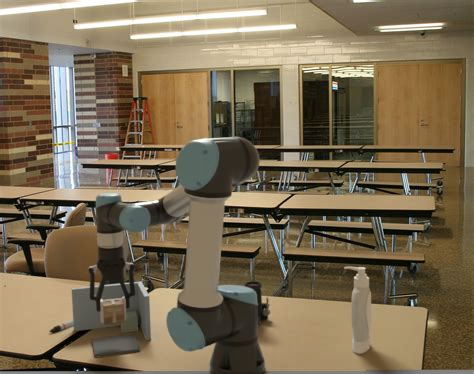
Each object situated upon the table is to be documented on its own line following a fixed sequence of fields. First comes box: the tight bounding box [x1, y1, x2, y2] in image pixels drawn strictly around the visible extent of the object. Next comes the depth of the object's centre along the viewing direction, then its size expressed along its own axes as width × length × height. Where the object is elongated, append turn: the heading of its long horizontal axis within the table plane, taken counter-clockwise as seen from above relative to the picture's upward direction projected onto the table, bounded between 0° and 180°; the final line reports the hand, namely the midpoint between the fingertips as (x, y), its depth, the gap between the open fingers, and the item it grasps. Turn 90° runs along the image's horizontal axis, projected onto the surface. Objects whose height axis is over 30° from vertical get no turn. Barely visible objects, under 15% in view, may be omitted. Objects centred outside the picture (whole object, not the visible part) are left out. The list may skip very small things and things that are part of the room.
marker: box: [48, 318, 74, 333], centre depth 209 cm, size 15×2×2 cm, turn 148°
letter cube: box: [103, 298, 125, 325], centre depth 189 cm, size 6×6×6 cm
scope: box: [244, 280, 271, 327], centre depth 208 cm, size 8×14×10 cm
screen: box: [71, 281, 152, 341], centre depth 200 cm, size 17×23×14 cm
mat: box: [91, 333, 140, 358], centre depth 191 cm, size 13×13×1 cm
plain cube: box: [120, 311, 139, 333], centre depth 206 cm, size 5×5×5 cm
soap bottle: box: [343, 266, 372, 355], centre depth 185 cm, size 13×8×24 cm, turn 159°
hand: (113, 319), depth 190 cm, fingers closed on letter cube, 6 cm apart
